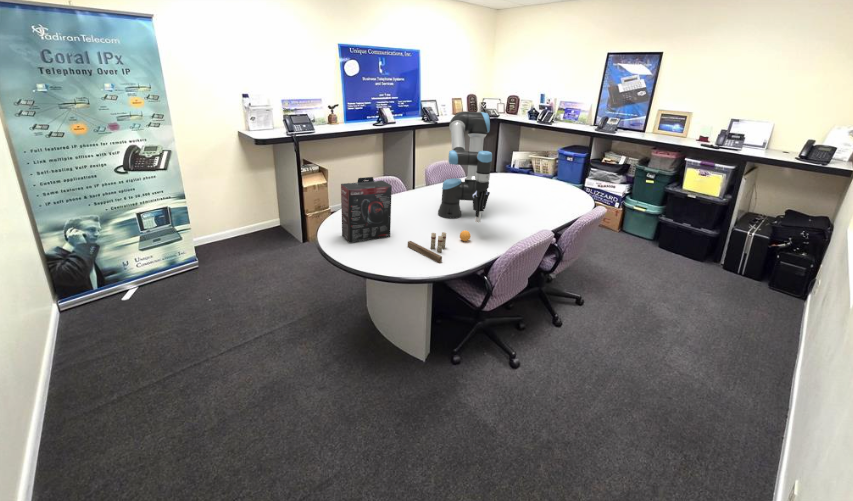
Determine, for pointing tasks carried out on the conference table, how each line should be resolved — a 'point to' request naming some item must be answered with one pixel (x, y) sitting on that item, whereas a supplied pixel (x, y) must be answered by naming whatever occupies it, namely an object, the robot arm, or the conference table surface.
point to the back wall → (425, 251)
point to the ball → (465, 235)
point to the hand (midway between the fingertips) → (477, 221)
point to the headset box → (366, 210)
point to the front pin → (443, 240)
